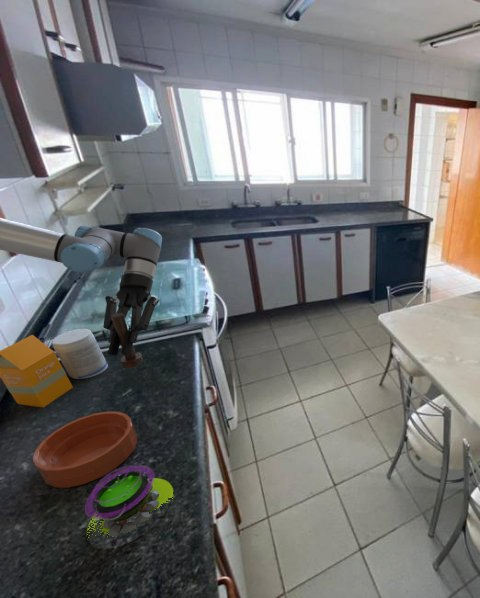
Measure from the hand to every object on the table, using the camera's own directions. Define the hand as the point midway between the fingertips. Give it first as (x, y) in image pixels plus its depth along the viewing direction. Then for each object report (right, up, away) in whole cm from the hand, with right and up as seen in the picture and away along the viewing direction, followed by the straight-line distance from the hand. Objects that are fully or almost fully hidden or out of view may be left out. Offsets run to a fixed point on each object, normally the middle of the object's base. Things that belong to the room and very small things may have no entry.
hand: (119, 354), depth 91 cm
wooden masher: (-1, -3, +6) cm, 7 cm away
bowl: (+1, -24, -9) cm, 26 cm away
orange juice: (-27, -15, +7) cm, 31 cm away
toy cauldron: (+20, -31, -20) cm, 42 cm away
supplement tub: (-25, -10, +18) cm, 33 cm away
